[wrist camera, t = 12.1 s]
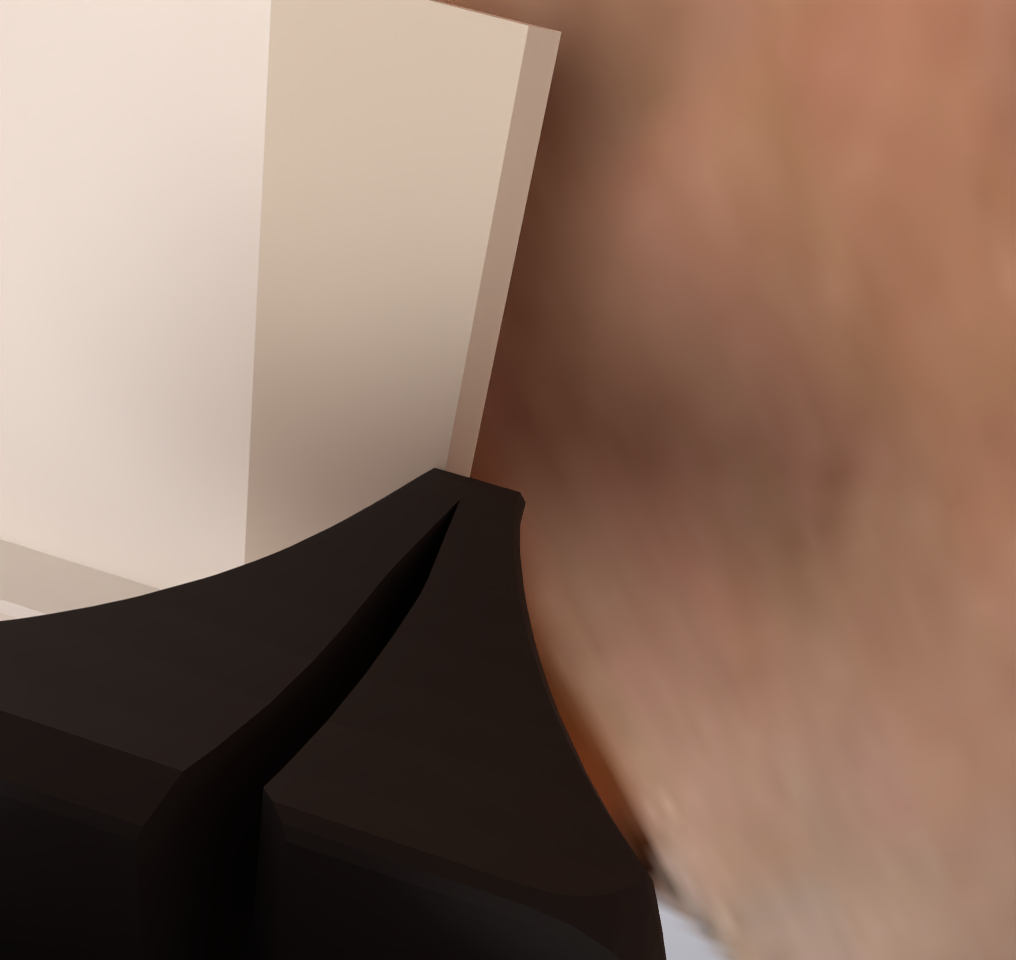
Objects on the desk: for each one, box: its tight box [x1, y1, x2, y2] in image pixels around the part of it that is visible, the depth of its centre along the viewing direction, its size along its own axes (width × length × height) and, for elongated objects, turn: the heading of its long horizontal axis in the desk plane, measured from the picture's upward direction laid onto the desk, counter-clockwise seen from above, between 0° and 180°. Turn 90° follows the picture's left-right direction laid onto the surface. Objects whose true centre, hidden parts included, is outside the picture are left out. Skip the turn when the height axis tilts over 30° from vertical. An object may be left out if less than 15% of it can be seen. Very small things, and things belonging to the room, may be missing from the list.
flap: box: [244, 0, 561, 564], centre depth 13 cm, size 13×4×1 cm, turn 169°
